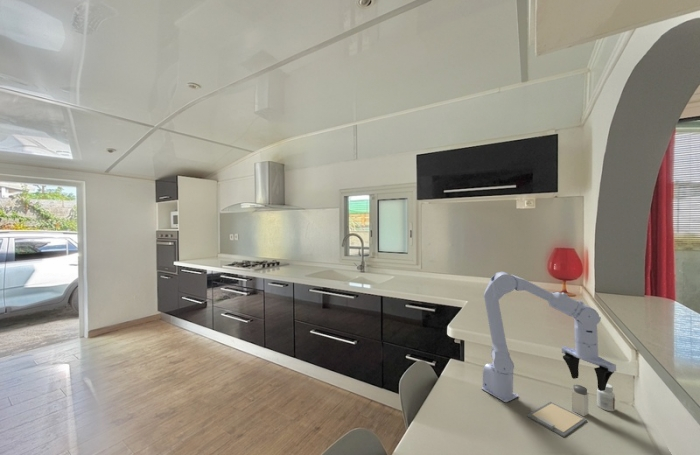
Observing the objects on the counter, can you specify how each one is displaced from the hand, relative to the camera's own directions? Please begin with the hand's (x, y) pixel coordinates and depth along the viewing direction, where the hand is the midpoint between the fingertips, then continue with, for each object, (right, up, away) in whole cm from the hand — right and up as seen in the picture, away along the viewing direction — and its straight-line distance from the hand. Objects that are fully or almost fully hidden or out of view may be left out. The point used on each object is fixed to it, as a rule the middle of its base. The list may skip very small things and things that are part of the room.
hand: (587, 383), depth 88 cm
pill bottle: (+9, -10, +3) cm, 14 cm away
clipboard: (-13, -9, -3) cm, 16 cm away
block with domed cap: (-2, -10, 0) cm, 10 cm away
